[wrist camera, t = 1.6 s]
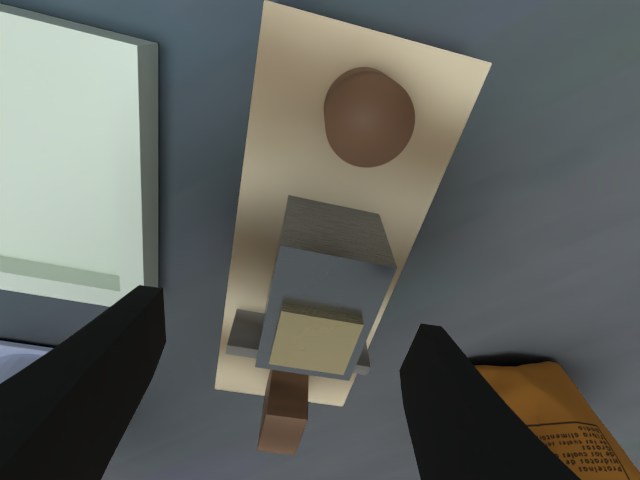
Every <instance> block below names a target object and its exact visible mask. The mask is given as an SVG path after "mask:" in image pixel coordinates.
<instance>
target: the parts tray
mask: <svg viewBox="0 0 640 480" xmlns="http://www.w3.org/2000/svg"><path fill="white" fill-rule="evenodd" d="M139 285H143V286H150V287H158V43H155V42H151V41H147V40H143V39H139V38H136V37H132V36H128V35H124V34H120V33H116V32H112V31H108V30H104V29H100V28H96V27H92V26H88V25H84V24H80V23H76V22H72V21H68V20H64V19H60V18H56V17H52V16H49V15H45V14H41V13H37V12H33V11H29V10H25V9H21V8H17V7H13V6H9V5H5V4H1V3H0V289H3V290H9V291H15V292H21V293H28V294H34V295H40V296H47V297H53V298H59V299H65V300H72V301H78V302H84V303H90V304H97V305H103V306H109V307H111V306H112V305H113V304H115V303H116V302H117V301H119V300H120V299H121V298H122V297H124V296H125V295H126V294H128V293H129V292H130V291H132V290H133V289H134V288H136V287H137V286H139Z"/></svg>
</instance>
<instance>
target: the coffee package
mask: <svg viewBox="0 0 640 480" xmlns="http://www.w3.org/2000/svg"><path fill="white" fill-rule="evenodd" d="M475 368H476V369H477V370H478V371H479V372H480V373H481V375H482V376H483V377H484V378H485V379H486V381H487V382H488V383H489V384H490V385H491V386H492V388H493V389H494V390H495V391H496V392H497V393H498V395H499V396H500V397H501V398H502V399H503V400H504V401H505V403H506V404H507V405H508V406H509V407H510V408H511V409H512V410H513V411H514V413H515V414H516V415H517V416H518V417H519V418H520V419H521V420H522V421H523V422H524V423H525V424H526V425H527V426H528V428H529V429H530V430H531V431H532V432H533V433H534V434H535V435H536V436H537V437H538V438H539V439H540V440H541V441H542V442H543V443H544V444H545V445H546V446H547V447H548V448H549V449H550V450H551V451H552V452H553V453H554V454H555V455H556V456H557V457H558V458H559V459H560V460H561V461H562V462H563V463H564V464H565V465H566V466H568V467H569V468H570V469H571V470H572V471H573V472H574V473H575V474H576V475H577V476H578V477H579V478H580V479H581V480H640V472H639V471H638V469H637V468H636V467H635V466H634V465H633V463H632V462H631V461H630V459H629V458H628V456H627V455H626V453H625V452H624V450H623V449H622V448H621V446H620V445H619V444H618V442H617V441H616V440H615V438H614V437H613V436H612V435H611V433H610V432H609V431H608V429H607V428H606V427H605V426H604V424H603V423H602V422H601V421H600V419H599V418H598V417H597V416H596V414H595V413H594V411H593V410H592V409H591V407H590V406H589V404H588V403H587V402H586V400H585V399H584V397H583V396H582V394H581V393H580V391H579V390H578V388H577V387H576V385H575V384H574V383H573V382H572V381H571V379H570V378H569V377H568V375H567V374H566V373H565V371H564V370H563V368H562V367H561V366H560V365H559V364H557V363H555V362H551V361H545V362H540V363H531V364H524V365H520V366H515V367H514V366H491V365H476V366H475Z"/></svg>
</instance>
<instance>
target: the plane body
mask: <svg viewBox="0 0 640 480" xmlns="http://www.w3.org/2000/svg"><path fill="white" fill-rule="evenodd" d="M491 65H492V63H490V62H486V61H483V60H479V59H475V58H472V57H468V56H465V55H461V54H458V53H454V52H450V51H447V50H443V49H440V48H436V47H432V46H429V45H425V44H422V43H418V42H414V41H411V40H407V39H404V38H400V37H396V36H393V35H389V34H386V33H382V32H378V31H375V30H371V29H368V28H364V27H360V26H357V25H353V24H350V23H346V22H342V21H339V20H335V19H332V18H328V17H324V16H321V15H317V14H314V13H310V12H306V11H303V10H299V9H296V8H292V7H289V6H285V5H281V4H278V3H274V2H271V1H267V0H264V5H263V13H262V21H261V29H260V37H259V44H258V52H257V60H256V68H255V76H254V84H253V91H252V99H251V107H250V115H249V123H248V131H247V139H246V146H245V154H244V162H243V170H242V178H241V186H240V193H239V201H238V209H237V217H236V225H235V233H234V241H233V248H232V256H231V264H230V272H229V280H228V288H227V296H226V303H225V311H224V319H223V327H222V335H221V343H220V350H219V358H218V366H217V374H216V382H215V389H218V390H225V391H233V392H240V393H247V394H255V395H262V396H265V397H264V404H263V411H262V418H261V425H260V433H259V440H258V447H257V451H264V452H273V453H281V454H290V455H295V453H296V451H297V448H298V445H299V442H300V440H301V437H302V434H303V431H304V429H305V426H306V423H307V420H308V402H313V403H321V404H328V405H335V406H343V405H344V402H345V400H346V398H347V395H348V393H349V391H350V388H351V386H352V384H353V382H354V379H355V377H356V375H357V374H363V375H367V373H368V371H369V369H370V362H369V356H368V347H369V345H370V343H371V340H372V338H373V336H374V333H375V331H376V329H377V326H378V324H379V322H380V320H381V317H382V315H383V313H384V310H385V308H386V306H387V303H388V301H389V299H390V297H391V294H392V292H393V290H394V287H395V285H396V283H397V281H398V278H399V276H400V274H401V271H402V269H403V267H404V264H405V262H406V260H407V258H408V255H409V253H410V251H411V248H412V246H413V244H414V241H415V239H416V237H417V235H418V232H419V230H420V228H421V225H422V223H423V221H424V219H425V216H426V214H427V212H428V209H429V207H430V205H431V202H432V200H433V198H434V196H435V193H436V191H437V189H438V186H439V184H440V182H441V179H442V177H443V175H444V173H445V170H446V168H447V166H448V163H449V161H450V159H451V157H452V154H453V152H454V150H455V147H456V145H457V143H458V140H459V138H460V136H461V134H462V131H463V129H464V127H465V124H466V122H467V120H468V117H469V115H470V113H471V111H472V108H473V106H474V104H475V101H476V99H477V97H478V95H479V92H480V90H481V88H482V85H483V83H484V81H485V78H486V76H487V74H488V72H489V69H490V67H491ZM288 195H291V196H296V197H301V198H305V199H310V200H315V201H320V202H324V203H329V204H334V205H339V206H343V207H348V208H353V209H358V210H362V211H367V212H372V213H377V214H379V215H380V218H381V221H382V224H383V227H384V230H385V233H386V236H387V239H388V242H389V245H390V248H391V251H392V254H393V257H394V260H395V263H396V266H397V270H396V272H395V275H394V277H393V279H392V282H391V284H390V286H389V289H388V291H387V293H386V296H385V298H384V301H383V303H382V305H381V308H380V310H379V312H378V315H377V317H376V319H375V322H374V324H373V326H372V329H371V331H370V333H369V336H368V338H367V340H366V343H365V345H364V348H363V350H362V352H361V355H360V357H359V359H358V362H357V364H356V366H355V369H354V371H353V373H352V376H351V378H350V380H349V381H346V380H339V379H332V378H325V377H318V376H312V375H305V374H298V373H291V372H284V371H277V370H270V369H264V368H257V367H255V363H256V358H257V352H258V346H259V341H260V335H261V330H262V324H263V319H264V313H265V307H266V302H267V297H268V292H269V287H270V282H271V277H272V273H273V268H274V263H275V258H276V253H277V248H278V243H279V238H280V233H281V229H282V224H283V219H284V214H285V209H286V204H287V199H288Z"/></svg>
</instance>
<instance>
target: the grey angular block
mask: <svg viewBox="0 0 640 480" xmlns="http://www.w3.org/2000/svg"><path fill="white" fill-rule="evenodd" d="M396 270H397V266H396V263H395V260H394V257H393V254H392V251H391V248H390V245H389V242H388V239H387V236H386V233H385V230H384V227H383V224H382V221H381V218H380V215H379V214H377V213H372V212H367V211H362V210H358V209H353V208H348V207H343V206H339V205H334V204H329V203H324V202H320V201H315V200H310V199H305V198H301V197H296V196H291V195H288V199H287V204H286V209H285V214H284V219H283V224H282V229H281V233H280V238H279V243H278V248H277V253H276V258H275V263H274V268H273V273H272V277H271V282H270V287H269V292H268V297H267V302H266V307H265V313H264V319H263V324H262V330H261V335H260V341H259V346H258V352H257V358H256V363H255V367H257V368H264V369H270V370H277V371H284V372H291V373H298V374H305V375H312V376H318V377H325V378H332V379H339V380H346V381H349V380H350V378H351V376H352V373H353V371H354V369H355V366H356V364H357V362H358V359H359V357H360V355H361V352H362V350H363V348H364V345H365V343H366V340H367V338H368V336H369V333H370V331H371V329H372V326H373V324H374V322H375V319H376V317H377V315H378V312H379V310H380V308H381V305H382V303H383V301H384V298H385V296H386V293H387V291H388V289H389V286H390V284H391V282H392V279H393V277H394V275H395V272H396Z"/></svg>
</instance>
